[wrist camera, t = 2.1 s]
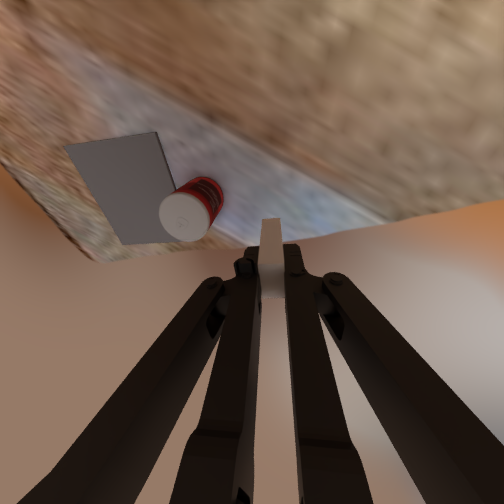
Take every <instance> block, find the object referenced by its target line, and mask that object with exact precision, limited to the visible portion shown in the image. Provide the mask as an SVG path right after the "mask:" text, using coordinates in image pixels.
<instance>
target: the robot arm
mask: <svg viewBox="0 0 504 504" xmlns="http://www.w3.org/2000/svg"><path fill="white" fill-rule="evenodd" d="M234 268H235V273H236V277H234V278H232V279H230V280H226V281H223V280H222V279H221V278H220V277H210V278H207V279H206V280H204V281H203V282H202V283H201V285H200V286H199V287H198V288H197V289H196V291H195V292H194V293H193V295H192V296H191V297H190V298H189V299H188V301H187V302H186V303H185V304H184V306H183V307H182V308H181V310H180V311H179V312H178V313H177V314H176V316H175V317H174V318H173V319H172V321H171V322H170V323H169V324H168V326H167V327H166V328H165V329H164V331H163V332H162V333H161V334H160V336H159V337H158V338H157V339H156V341H155V342H154V343H153V345H152V346H151V347H150V348H149V349H148V351H147V352H146V353H145V354H144V356H143V357H142V358H141V359H140V361H139V362H138V363H137V364H136V366H135V367H134V368H133V369H132V371H131V372H130V373H129V374H128V376H127V377H126V378H125V379H124V381H123V382H122V383H121V384H120V386H119V387H118V388H117V390H116V391H115V392H114V393H113V394H112V396H111V397H110V398H109V399H108V401H107V402H106V403H105V405H104V406H103V407H102V408H101V409H100V411H99V412H98V413H97V415H96V416H95V417H94V418H93V419H92V421H91V422H90V423H89V424H88V426H87V427H86V428H85V429H84V431H83V432H82V433H81V435H80V436H79V437H78V438H77V439H76V441H75V442H74V443H73V444H72V446H71V447H70V448H69V449H68V451H67V452H66V453H65V454H64V456H63V457H62V458H61V459H60V461H59V462H58V463H57V465H56V466H55V467H54V468H53V469H52V471H51V472H50V473H49V474H48V475H47V476H46V477H44V478H43V479H42V480H41V481H40V482H39V483H38V484H37V485H36V486H35V487H34V488H33V489H32V490H31V491H30V492H29V493H27V494H26V495H25V496H24V497H23V498H22V499H21V500H20V501H19V502H18V503H17V504H134V503H135V501H136V499H137V497H138V495H139V493H140V492H141V490H142V488H143V486H144V484H145V483H146V481H147V479H148V477H149V475H150V473H151V471H152V469H153V467H154V465H155V463H156V461H157V459H158V457H159V455H160V453H161V451H162V449H163V447H164V445H165V443H166V441H167V439H168V438H169V435H170V434H171V431H172V430H173V428H174V426H175V424H176V421H177V420H178V418H179V416H180V414H181V412H182V410H183V408H184V406H185V404H186V402H187V400H188V398H189V396H190V394H191V392H192V390H193V388H194V386H195V385H196V383H197V381H198V378H199V377H200V375H201V373H202V371H203V369H204V367H205V365H206V363H207V361H208V359H209V357H210V355H211V353H212V351H213V349H214V347H215V345H216V343H217V341H218V339H219V337H220V341H219V344H218V349H217V352H216V356H215V360H214V364H213V368H212V372H211V376H210V381H209V384H208V388H207V393H206V396H205V400H204V404H203V408H202V412H201V416H200V420H199V423H198V425H197V428H196V429H195V430H194V431H193V433H192V434H191V435H190V437H189V439H188V441H187V443H186V446H185V449H184V452H183V456H182V459H181V463H180V466H179V470H178V473H177V477H176V481H175V484H174V488H173V492H172V495H171V499H170V503H169V504H253V492H254V437H255V436H254V435H255V418H256V401H257V383H258V364H259V347H260V327H261V312H262V303H261V295H262V298H285V309H286V321H287V335H288V347H289V362H290V375H291V388H292V403H293V416H294V430H295V443H296V457H297V475H298V490H299V504H373V500H372V497H371V493H370V490H369V485H368V482H367V478H366V475H365V471H364V468H363V465H362V461H361V459H360V456H359V454H358V451H357V450H356V448H355V447H354V445H353V443H352V441H351V438H350V436H349V432H348V428H347V424H346V420H345V417H344V413H343V409H342V405H341V401H340V397H339V393H338V389H337V385H336V381H335V377H334V374H333V369H332V366H331V361H330V357H329V353H328V349H327V346H326V342H325V338H324V334H323V330H322V326H321V322H320V318H319V314H320V317H321V318H322V320H323V322H324V323H325V325H326V327H327V329H328V331H329V333H330V334H331V336H332V338H333V340H334V341H335V343H336V345H337V347H338V348H339V350H340V352H341V354H342V355H343V357H344V359H345V360H346V363H347V364H348V366H349V368H350V370H351V371H352V373H353V375H354V377H355V378H356V380H357V382H358V384H359V386H360V387H361V389H362V391H363V393H364V394H365V396H366V398H367V400H368V402H369V403H370V405H371V407H372V408H373V410H374V412H375V414H376V416H377V417H378V419H379V421H380V423H381V425H382V426H383V428H384V430H385V432H386V433H387V435H388V436H389V439H390V440H391V442H392V444H393V446H394V448H395V449H396V451H397V452H398V455H399V456H400V458H401V460H402V461H403V463H404V465H405V467H406V469H407V471H408V472H409V474H410V476H411V478H412V479H413V481H414V483H415V485H416V486H417V488H418V490H419V492H420V494H421V495H422V497H423V499H424V501H425V502H426V504H504V446H503V444H502V443H501V442H500V441H499V440H498V439H497V438H496V437H495V436H494V435H493V434H492V433H491V431H490V430H489V429H488V428H487V427H486V426H485V425H484V424H483V423H482V422H481V421H480V420H479V418H478V417H477V416H476V415H475V414H474V413H473V412H472V411H471V410H470V409H469V408H468V407H467V406H466V405H465V403H464V402H463V401H462V400H461V399H460V398H459V397H458V396H457V395H456V394H455V393H454V391H453V390H452V389H451V388H450V387H449V386H448V385H447V384H446V383H445V382H444V381H443V380H442V379H441V378H440V376H439V375H438V374H437V373H436V372H435V371H434V370H433V369H432V368H431V367H430V366H429V365H428V363H427V362H426V361H425V360H424V359H423V358H422V357H421V356H420V355H419V354H418V353H417V352H416V350H415V349H414V348H413V347H412V346H411V345H410V344H409V343H408V342H407V341H406V340H405V339H404V338H403V337H402V335H401V334H400V333H399V332H398V331H397V330H396V329H395V328H394V327H393V326H392V325H391V324H390V322H389V321H388V320H387V319H386V318H385V317H384V316H383V315H382V314H381V313H380V312H379V311H378V309H377V308H376V307H375V306H374V305H373V304H372V303H371V302H370V301H369V300H368V299H367V298H366V297H365V295H364V294H363V293H362V292H361V291H360V290H359V289H358V288H357V287H356V286H355V285H354V284H353V282H352V281H351V280H350V279H349V278H348V277H346V276H345V275H343V274H341V273H337V272H330V273H327V274H325V275H324V276H323V278H322V277H317V276H313V275H311V274H309V273H308V272H307V270H306V269H305V267H304V263H303V259H302V255H301V251H300V247H299V246H298V245H297V244H282V233H281V223H280V218H271V219H263V220H262V229H261V238H260V246H253V247H248V248H247V249H246V250H245V252H244V256H243V258H240V259H238V260H236V261H235V262H234ZM318 313H319V314H318ZM220 335H221V336H220Z"/></svg>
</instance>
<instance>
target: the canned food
mask: <svg viewBox="0 0 504 504" xmlns="http://www.w3.org/2000/svg"><path fill="white" fill-rule="evenodd" d="M222 205H223V194H222V191H221V189H220V187H219V186H218V184H217V183H216V182H214V181H213V180H211V179H209V178H205V177H198V178H194V179H192V180H191V181H189V182H188V183H186V184H185V185H183V186H182V187H180V188H178V189H177V190H175V191H174V192H172V193H171V194H170V195H168V196H167V197H166V198H165V199H164V200H163V201H162V202H161V205H160V207H159V218H160V221H161V223H162V226H163V227H164V229H165V230H166V231H167V232H168V233H169V234H170V235H171V236H173V237H175V238H176V239H179V240H181V241H186V242H191V241H196V240H199V239H200V238H202V237H203V236H204V235H205V234H206V232H207V231H208V229H209V228H210V226H211V225H212V223H213V221H214V220H215V218H216V216H217V215H218V213H219V211H220V210H221V208H222Z"/></svg>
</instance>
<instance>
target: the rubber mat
mask: <svg viewBox="0 0 504 504" xmlns="http://www.w3.org/2000/svg"><path fill="white" fill-rule="evenodd" d="M63 147H64V148H65V150H66V152H67V153H68V155H69V157H70V158H71V160H72V162H73V163H74V165H75V167H76V168H77V170H78V172H79V173H80V175H81V177H82V178H83V180H84V182H85V183H86V185H87V187H88V188H89V190H90V192H91V193H92V195H93V197H94V198H95V200H96V202H97V203H98V205H99V207H100V208H101V210H102V211H103V213H104V215H105V216H106V218H107V220H108V221H109V223H110V225H111V226H112V228H113V230H114V231H115V233H116V235H117V236H118V238H119V240H120V241H121V243H122V245H130V244H147V243H164V242H181V240H179V239H176V238H175V237H173V236H171V235H170V234H169V233H168V232H167V231H166V230H165V229H164V227H163V226H162V223H161V221H160V218H159V207H160V205H161V202H162V201H163V200H164V199H165V198H166V197H167V196H168V195H170V194H171V193H172V192H174V191H175V190H176V187H175V184H174V182H173V179H172V176H171V173H170V170H169V167H168V164H167V161H166V158H165V155H164V152H163V149H162V146H161V144H160V141H159V138H158V135H157V132H153V133H147V134H140V135H134V136H127V137H120V138H114V139H107V140H100V141H94V142H87V143H81V144H74V145H67V146H63Z"/></svg>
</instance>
